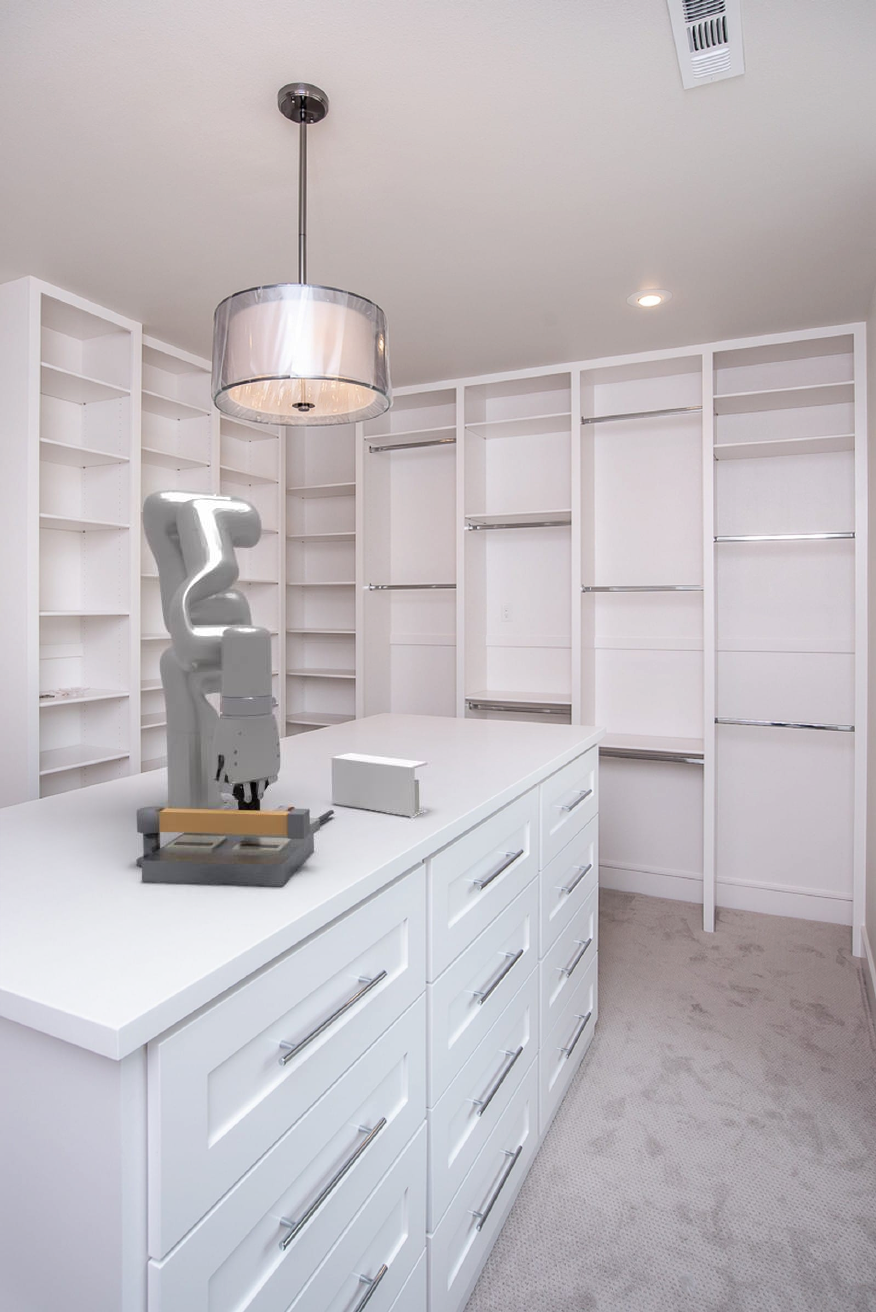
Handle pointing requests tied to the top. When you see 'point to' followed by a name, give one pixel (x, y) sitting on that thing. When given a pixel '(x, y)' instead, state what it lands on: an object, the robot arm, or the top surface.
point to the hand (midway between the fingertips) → (249, 825)
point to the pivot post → (149, 845)
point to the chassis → (228, 859)
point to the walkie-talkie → (313, 821)
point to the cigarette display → (376, 783)
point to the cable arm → (224, 821)
